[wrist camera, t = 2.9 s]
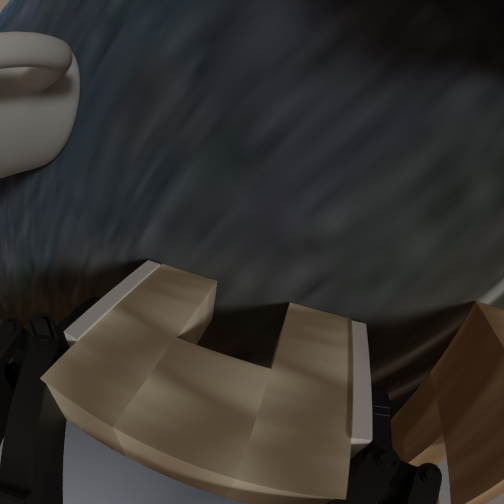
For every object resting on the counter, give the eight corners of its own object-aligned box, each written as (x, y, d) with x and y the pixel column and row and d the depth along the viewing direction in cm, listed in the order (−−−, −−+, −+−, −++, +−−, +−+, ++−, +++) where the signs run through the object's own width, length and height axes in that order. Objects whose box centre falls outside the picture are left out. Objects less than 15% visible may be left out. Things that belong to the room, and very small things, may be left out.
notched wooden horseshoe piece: (161, 301, 16) (61, 415, 8) (162, 263, 15) (39, 378, 7) (334, 354, 14) (314, 515, 6) (351, 318, 13) (345, 499, 5)
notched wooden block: (366, 444, 17) (357, 546, 9) (475, 300, 11) (544, 447, 3) (393, 446, 17) (389, 544, 9) (504, 309, 11) (570, 438, 3)
